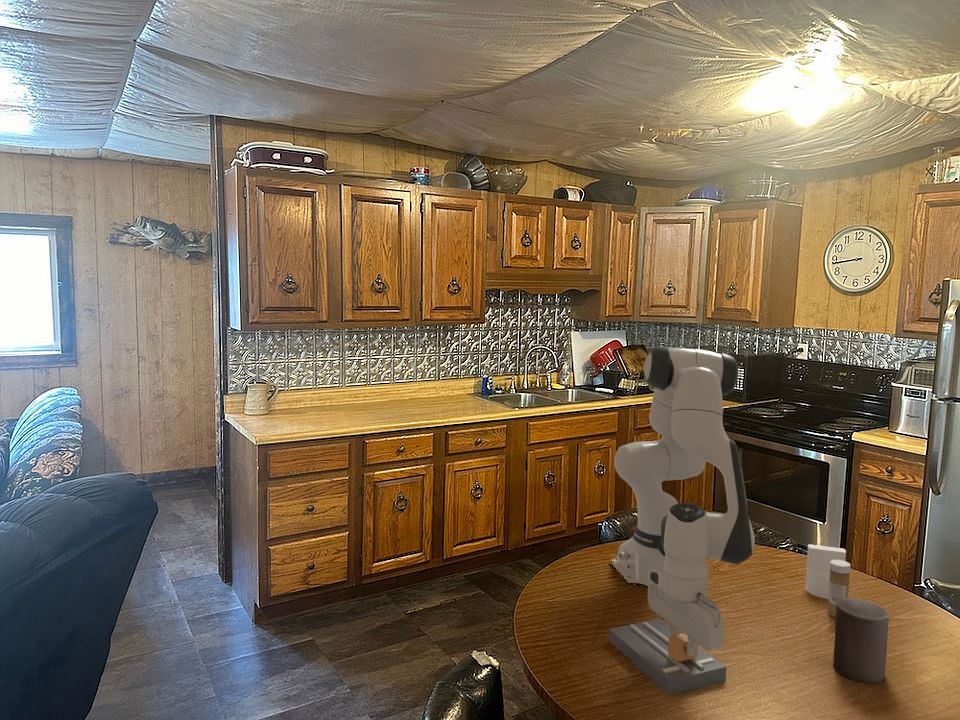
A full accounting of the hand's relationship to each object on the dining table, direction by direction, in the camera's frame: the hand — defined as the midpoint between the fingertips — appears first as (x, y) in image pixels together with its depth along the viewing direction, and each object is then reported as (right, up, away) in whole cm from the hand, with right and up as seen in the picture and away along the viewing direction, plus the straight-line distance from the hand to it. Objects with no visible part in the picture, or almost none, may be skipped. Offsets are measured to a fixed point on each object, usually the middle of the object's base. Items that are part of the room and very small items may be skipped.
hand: (682, 648), depth 139 cm
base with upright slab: (+50, -2, +40) cm, 64 cm away
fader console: (-2, -5, +6) cm, 8 cm away
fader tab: (0, -2, 0) cm, 3 cm away
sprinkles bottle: (+47, -4, +27) cm, 54 cm away
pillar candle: (+38, -6, +2) cm, 38 cm away
